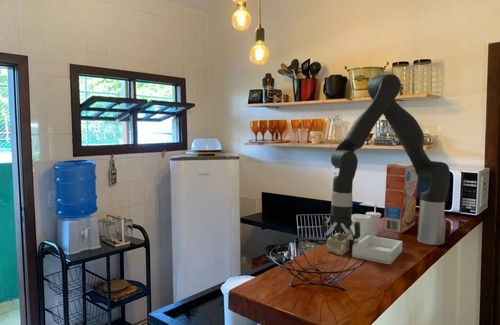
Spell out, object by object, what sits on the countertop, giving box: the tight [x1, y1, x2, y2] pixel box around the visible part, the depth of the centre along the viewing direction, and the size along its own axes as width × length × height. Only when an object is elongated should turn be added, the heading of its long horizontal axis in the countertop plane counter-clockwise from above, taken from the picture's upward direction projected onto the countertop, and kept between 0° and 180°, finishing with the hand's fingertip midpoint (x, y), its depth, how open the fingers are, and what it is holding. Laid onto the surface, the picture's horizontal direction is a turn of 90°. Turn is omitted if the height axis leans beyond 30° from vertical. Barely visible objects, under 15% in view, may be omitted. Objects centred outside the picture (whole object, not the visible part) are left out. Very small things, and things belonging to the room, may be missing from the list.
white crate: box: [351, 235, 403, 265], centre depth 142 cm, size 18×13×4 cm
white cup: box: [350, 213, 371, 243], centre depth 160 cm, size 8×8×10 cm
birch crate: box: [326, 232, 350, 256], centre depth 146 cm, size 11×6×5 cm, turn 148°
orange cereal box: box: [382, 162, 419, 234], centre depth 184 cm, size 23×8×30 cm, turn 144°
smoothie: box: [365, 203, 382, 237], centre depth 167 cm, size 6×6×14 cm
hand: (339, 246), depth 146 cm, fingers open, 8 cm apart
